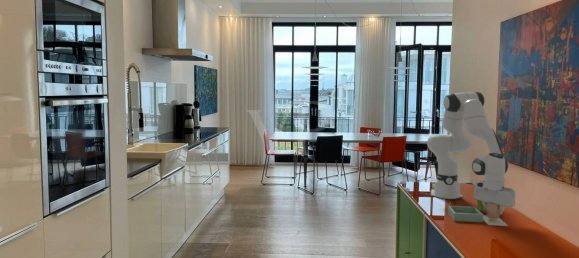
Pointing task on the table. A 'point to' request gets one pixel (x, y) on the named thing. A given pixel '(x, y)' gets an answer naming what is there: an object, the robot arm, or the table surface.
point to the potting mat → (494, 221)
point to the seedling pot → (493, 210)
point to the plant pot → (481, 206)
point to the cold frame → (465, 214)
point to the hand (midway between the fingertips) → (493, 211)
